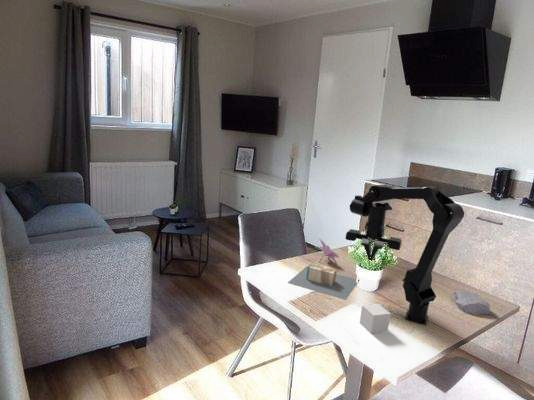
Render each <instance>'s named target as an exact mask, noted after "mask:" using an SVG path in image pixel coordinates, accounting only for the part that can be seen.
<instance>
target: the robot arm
mask: <svg viewBox="0 0 534 400" xmlns="http://www.w3.org/2000/svg"><path fill="white" fill-rule="evenodd" d="M397 199H398V200H401V199H402V200H423V201H424V202H425V204H426V206H427V208H428V210H429V211H430V213H432V214H433V217H432V220H431V221H432V222H431V223H432V231H431V233H430V235H429V238H428V239H427V240H428V241H426V244H425V247H424V249H423V250H422V254H421V256H420V258H419V260H418V261H417V265H416V267H415V268H412V269H411V268H410V269H407V270H406V272H405V275H404V278H403V279H402V280H401V281H402V282H403V283H402V288H403V290H404V295H405V300H406V302H408V303H409V305H408V309H407V310H406V314H405V317H404V319H405V320H407V321H410V322H413V323H418V324H420V325H424V326H427V323H428V320H429V319H428V318H429V315H428V312H429V307H430V302H434V301H435V299H436V298H437V294H436V293H435V291H434V290H433V288H432V286H431V285H432V282H433V274H432V272H433V270H434V268H435V265H436V263H437V261H438V260H439V258H440V254H441V253H442V250H443V248H444V246H445V245H446V242H447V239H448V238H449V235H450V233H452V232H453V231H454V230H455V229H456V228H457V227H458V226H459V224H460V223H461V222H462V220H463V219H464V217H465V211H464V208H463V207H462V206H461V205H460V204H459V203H456V202H455V201H454V200H453V199H452V198H450V197H449V196H447V195H445V193H443V192H442V191H441V190H440V189H439V188H438V187H436V186H432V185H431V186H424V187H421V186H420V187H397V186H396V185H395V186H394V185H389V184H373V185H371V186H370V188H369V189H368V192H367V193H365V195H364V196H361V195H354V199H352V200H351V202H350V204H349V211H350V212H351V213H352V214H355V215H358V216H361V217H363V218H365V217H366V218H367V221H366V222H365V225H364V230H365V234H363V233H361V230H357V229H354V228H353V229H352V228H351V229H348V231H347V232H346V233H345V241H346V240H347V241H351V242H355V241H356V240H361V242H360V243H361V244H360V245H361V246H363V247H364V250H365V253H366V256H367V260H368V259H369V260H371V261H372V262H373V260H374V258H375V255H376V253H378V251H379V250H382V249H383V248H384V246H385V245H387V247H388V249H391V250H395V251H400V250H401V247H402V243H403V241H402V238H400V237H399V238H398V237H395V236H390V237H389V238H385V237H384V235H385V223H386V221H385V220H386V215H387V211H392V210H393V207H392V206H391V205H390V204H389V202H386V201H393V200H397ZM380 202H381V203H380ZM382 202H383V203H382ZM373 243H374V245H373ZM372 246H373V247H372ZM370 257H371V258H370Z"/></svg>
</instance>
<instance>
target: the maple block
mask: <svg viewBox="0 0 534 400" xmlns="http://www.w3.org/2000/svg"><path fill="white" fill-rule="evenodd" d="M336 274H338V269H337V268H334V267H331V266H330V267H329V266H326V265H322V264H318V263H314V262H311V263H310V264H309V265H308V268H307V276H306V279H308V280H311V281H315V282H318V283H322V284H326V285H329V286H332V285H333V284H334V283H335V281H336Z"/></svg>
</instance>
